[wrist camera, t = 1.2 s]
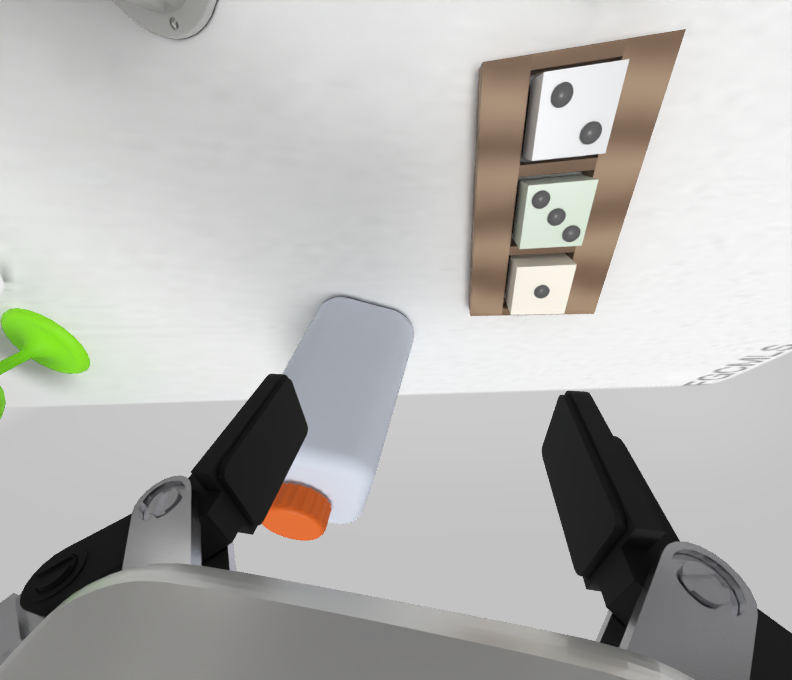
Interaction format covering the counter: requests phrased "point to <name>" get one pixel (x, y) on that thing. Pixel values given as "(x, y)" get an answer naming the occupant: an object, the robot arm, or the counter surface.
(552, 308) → the one dot tile
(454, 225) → the counter surface
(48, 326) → the wineglass
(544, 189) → the three dot tile
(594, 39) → the counter surface
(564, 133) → the two dot tile
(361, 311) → the plastic bottle
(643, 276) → the counter surface
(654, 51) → the wooden tile tray
